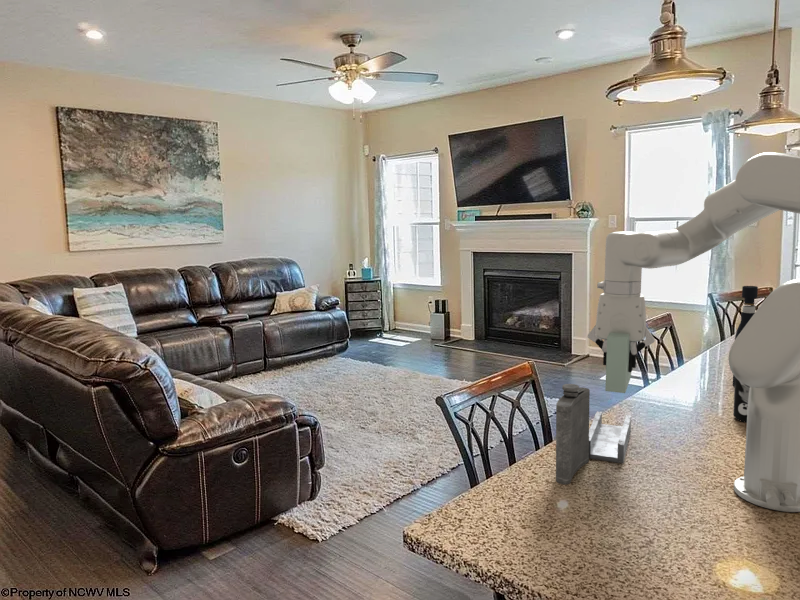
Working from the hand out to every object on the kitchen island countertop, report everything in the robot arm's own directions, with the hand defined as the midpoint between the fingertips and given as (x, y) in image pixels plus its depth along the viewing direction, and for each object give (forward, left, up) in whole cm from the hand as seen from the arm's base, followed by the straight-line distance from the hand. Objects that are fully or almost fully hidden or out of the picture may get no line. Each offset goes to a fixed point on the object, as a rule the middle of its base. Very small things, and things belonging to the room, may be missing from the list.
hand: (619, 368), depth 129 cm
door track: (0, +2, -18) cm, 18 cm away
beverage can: (+29, -28, -18) cm, 44 cm away
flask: (-18, +7, -18) cm, 26 cm away
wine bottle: (+61, -30, -18) cm, 70 cm away
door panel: (0, 0, -3) cm, 3 cm away
